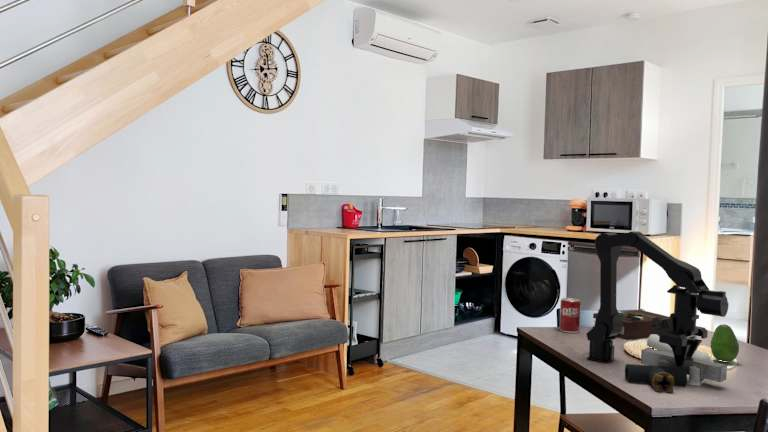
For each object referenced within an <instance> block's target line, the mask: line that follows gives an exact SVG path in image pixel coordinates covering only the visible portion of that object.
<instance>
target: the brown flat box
mask: <svg viewBox="0 0 768 432" xmlns="http://www.w3.org/2000/svg"><path fill="white" fill-rule="evenodd" d="M596 311H597V312H595V313H592V314H593V315H592V316H593V317H592V318H593V319H596V316H597V314H598V311H599V309H598V310H597V309H596ZM618 313H619V314H623V316H624V317H623V325H624V327H622V330H621V332H620V333H619V334H617V336H616V338H618V339H622V340H626V341H630V340H631V341H632V340H640V339H641V340H642V339H648V338H649V336H650V335H651V334H657V335H658V336H659V335H660V334H662V333H663V332H667V331H669V329H667V330H661V331H659V332H655V330H654V328H653V327H651V324H652V323H651V322H652V320H653V318H657V317H661V318H662V319H666V318H670V316H667V315H665V314H659V313H655V312H651V311H646V310H643V309H636V310H623V311H622V310H621V311H620V310H619V311H618ZM593 322H594V323H595V320H593ZM593 328H594V325H593V326H592V329H593Z"/></svg>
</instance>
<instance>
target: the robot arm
mask: <svg viewBox="0 0 768 432" xmlns="http://www.w3.org/2000/svg"><path fill="white" fill-rule="evenodd" d="M594 246H595V247H594V248H595V252H596V256H597V258H598V259H599V263H600V272H599V273H600V277H599V278H600V280H599V281H600V282H599V286H600V288H599V293H600V294H599V300H600V301H599V309H598V310H599V311H597V313H598V314H597V316H596V318H595V320H594V321H595V322H594V325H593V326H594V328H593V327H592V328H591V329H590V330H589V331H587V333H586V337H587V340H588V341H589V349H588V356H587V357H586V359H587V360H590V361H595V362H600V363H607V364H608V363H610V362H612V361H614V360H615V345H614V340H615V339H616V338H617V337H616V336H617V334H619V333H620V332H621V330H622V327H624V325H623V317H624V316H623V314H619V313H618V312H619V311H618V309H617V274H618V273H617V269H618V268H617V263H618V260H619V259H620V258H619V257H620V255H621V253H622V248H623V247H627V246H632V247H634V248H635V249H636V251H637V250H638V251H639V253H641V254H643V255H644V256H646V257H647V258H648V259H649V260H651V261H652V262H654V263H655V264H656V265H657V266H659V267H660V268H662V270H663V271H665V273H666V274H667V277H668V278H669V279H670V280H671V281H672V282H673V283H674V284H673V286H671V288H669V289H667V290H666V292H667V293H668V294H673V295H674V303H673V304H674V305H673V306H674V307H673V309H674V310H673V312H672V313H670V314H669V317H670V318H666V319H662V318H661V317H657V318H653V320H652V322H651V323H652V324H651V327H653V328H654V330H655V332H659V331H661V330H667V329H669V331H667V332H663V333H662V334H660V335H659V342H661V343H665V344H668V345H669V346H670V347H671V348H672V351H673V354H674V358H675V362H676V365H677V366H678V367H681V366H682V364H683V361H684V359H685V357H686V356H688V357H691V358H692V356H693V354H694V353H695V351H696V350H698V347H699V346H700V344H701V343H702V342H703V340H702V339H707V338H708V334H709V333H708V330H707V328H706V327H703V326H698V325H697V320H699V319H700V315H699V314H697V313H698V312H697V311H699V312H700V314H703V315H709V316H715V317H722V318H725V317H726V316H727V314H728V309H729V300H728V298H727V295H726V294H727V292H726V291H723V290H718V291H717V290H710V288H709V287H708V286H707V283H706V282H705V281H704V279H703V278H702V272H701V270H700V269H699V268H698V267H696V266H694V265H692V264H690V263H688V262H686V261H683V260H680V259H678V258H676V257H674V256H673V255H671V254H670V253H669V252H667V251H666V250H665V249H663V248H661V247H660V246H659V245H658V244H657V243H655V242H653V241H652V240H651V239H649V238H648V237H647V236H645V235H644V234H643V233H642V232H640V231H638V230H636V231H629V232H624V233H615V232H606V233H605V232H604V233H603V232H602V233H600V234H598V235H597V236H596V237H595V239H594ZM698 337H701V339H698Z"/></svg>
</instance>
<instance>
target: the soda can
mask: <svg viewBox="0 0 768 432" xmlns="http://www.w3.org/2000/svg"><path fill="white" fill-rule="evenodd" d="M581 307H582V303H581V299H579V298H578V299H577V298H571V297H565V298H563V297H562V298H561V299H560V310H559V330H560V332H563V333H567V334H578V333H579V332H580V330H581V329H580V325H581V310H582V309H581Z"/></svg>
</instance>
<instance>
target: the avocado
mask: <svg viewBox="0 0 768 432" xmlns="http://www.w3.org/2000/svg"><path fill="white" fill-rule="evenodd" d="M710 351H711V354H712V356H713V357H714V359H716V360H717V361H718V360H722V361H731V362H733V361H734V360H735V359H736V358H737V356H738V355H739V352H740V344H739V341H738V339H737V336H736V335H735V332H734V330H733V329H732V327H731V326H730V325H727V324H719V325H718V326H717V327H715V329H714V332H713V333H712V336H711V340H710Z"/></svg>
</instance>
